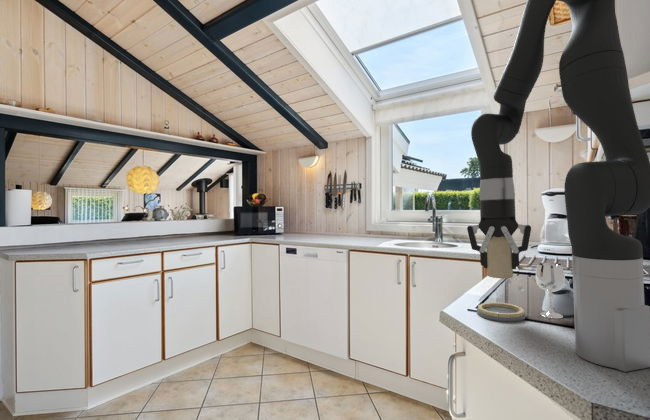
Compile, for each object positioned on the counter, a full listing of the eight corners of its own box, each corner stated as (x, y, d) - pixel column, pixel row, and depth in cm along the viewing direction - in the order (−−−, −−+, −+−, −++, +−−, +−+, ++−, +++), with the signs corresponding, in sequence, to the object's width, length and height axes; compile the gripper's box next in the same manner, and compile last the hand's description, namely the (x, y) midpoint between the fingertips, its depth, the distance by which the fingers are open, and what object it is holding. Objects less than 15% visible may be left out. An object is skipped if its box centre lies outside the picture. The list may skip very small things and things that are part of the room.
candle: (489, 278, 80) (487, 236, 80) (485, 273, 86) (484, 233, 85) (515, 279, 79) (513, 235, 79) (510, 274, 84) (508, 233, 84)
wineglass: (540, 318, 78) (538, 266, 78) (534, 311, 84) (532, 262, 84) (570, 320, 76) (568, 266, 76) (561, 312, 82) (559, 262, 82)
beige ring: (536, 318, 78) (536, 311, 78) (497, 324, 76) (496, 316, 76) (503, 306, 88) (503, 300, 88) (467, 310, 86) (467, 304, 86)
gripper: (530, 196, 82) (533, 266, 82) (466, 199, 89) (468, 264, 89) (533, 196, 75) (535, 272, 75) (463, 199, 82) (465, 269, 82)
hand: (499, 267), depth 82 cm, fingers closed on candle, 5 cm apart
